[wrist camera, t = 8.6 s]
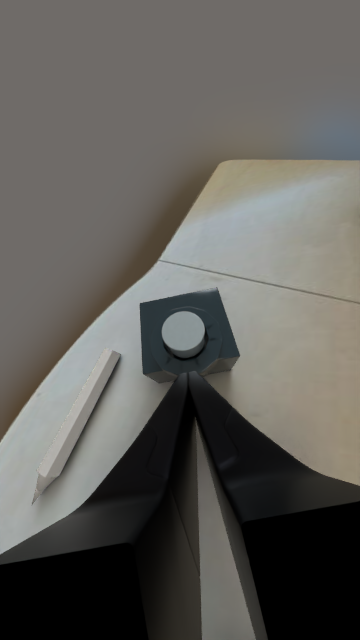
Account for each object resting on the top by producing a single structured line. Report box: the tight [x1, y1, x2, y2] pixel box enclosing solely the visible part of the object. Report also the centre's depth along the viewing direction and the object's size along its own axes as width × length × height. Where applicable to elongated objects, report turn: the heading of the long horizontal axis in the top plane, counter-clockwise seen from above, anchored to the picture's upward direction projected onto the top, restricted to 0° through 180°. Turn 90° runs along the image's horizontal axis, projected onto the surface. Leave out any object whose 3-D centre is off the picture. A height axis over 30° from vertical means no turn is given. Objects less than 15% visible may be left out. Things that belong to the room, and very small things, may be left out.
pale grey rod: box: [32, 348, 121, 504], centre depth 19 cm, size 3×2×16 cm
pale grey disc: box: [162, 311, 205, 358], centre depth 14 cm, size 3×3×2 cm
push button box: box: [140, 287, 240, 383], centre depth 19 cm, size 9×9×8 cm
